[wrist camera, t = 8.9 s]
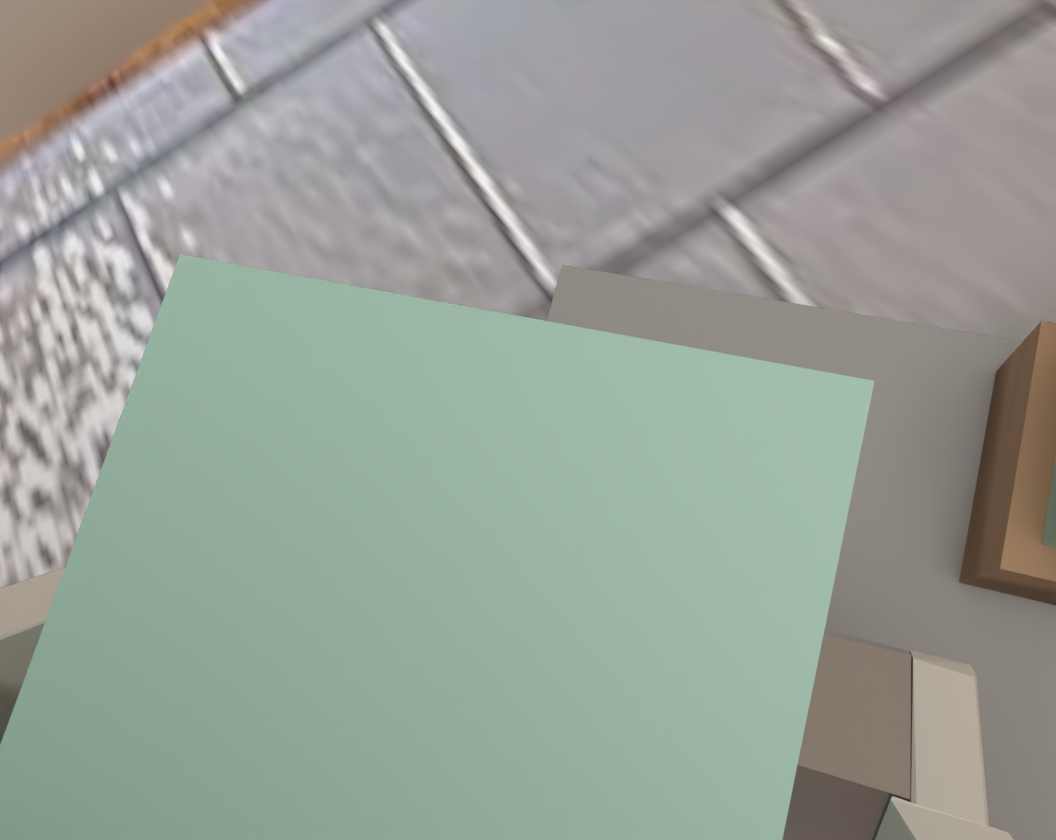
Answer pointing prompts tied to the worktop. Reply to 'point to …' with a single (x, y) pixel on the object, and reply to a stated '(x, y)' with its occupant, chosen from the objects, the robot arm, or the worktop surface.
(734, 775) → the pillar
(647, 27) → the worktop surface
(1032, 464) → the tower
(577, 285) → the board
